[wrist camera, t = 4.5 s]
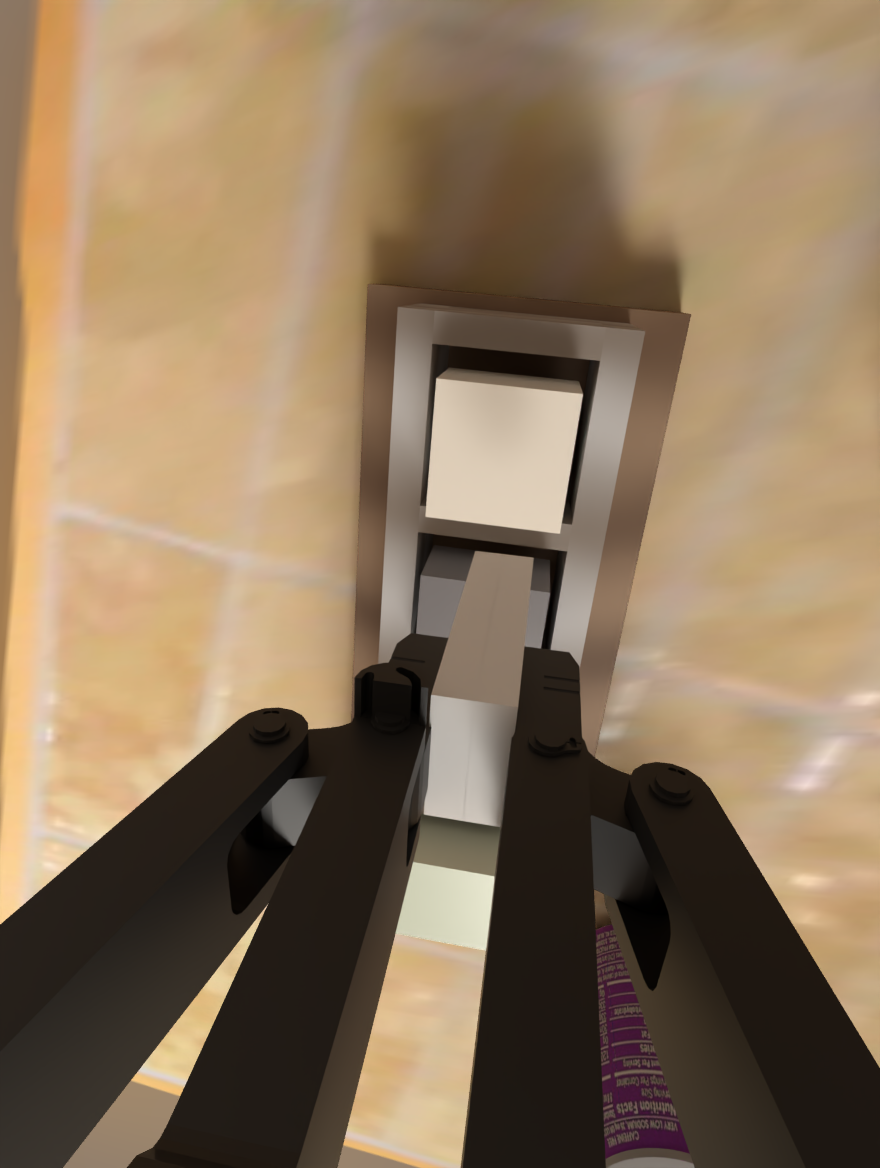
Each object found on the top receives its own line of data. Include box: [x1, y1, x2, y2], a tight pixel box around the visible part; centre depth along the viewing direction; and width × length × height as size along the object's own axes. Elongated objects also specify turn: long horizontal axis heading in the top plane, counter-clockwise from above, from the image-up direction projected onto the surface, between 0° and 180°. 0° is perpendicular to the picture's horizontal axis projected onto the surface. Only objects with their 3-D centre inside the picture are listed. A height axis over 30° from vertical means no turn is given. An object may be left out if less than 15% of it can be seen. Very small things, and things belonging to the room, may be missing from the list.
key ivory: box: [425, 367, 583, 534], centre depth 23 cm, size 4×4×3 cm
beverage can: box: [596, 924, 695, 1168], centre depth 35 cm, size 7×7×12 cm
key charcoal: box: [416, 545, 550, 648], centre depth 25 cm, size 4×4×3 cm
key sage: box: [395, 814, 501, 951], centre depth 31 cm, size 4×4×3 cm
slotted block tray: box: [351, 284, 691, 814], centre depth 30 cm, size 28×12×6 cm, turn 175°
